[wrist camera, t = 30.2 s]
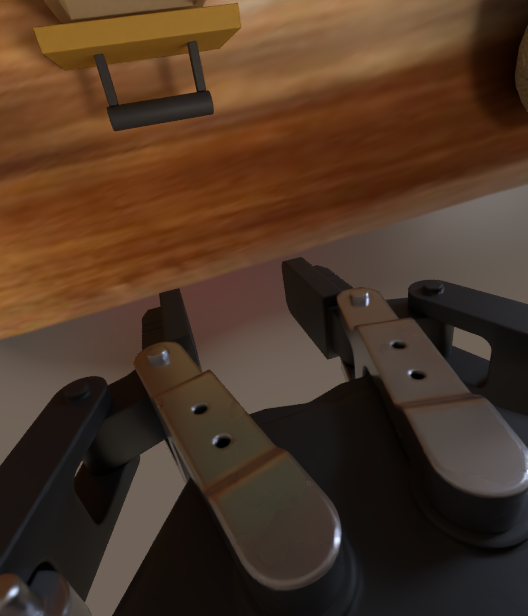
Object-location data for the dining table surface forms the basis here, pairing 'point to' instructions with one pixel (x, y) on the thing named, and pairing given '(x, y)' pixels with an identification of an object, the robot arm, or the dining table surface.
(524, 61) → the cantaloupe
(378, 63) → the dining table surface
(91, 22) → the drawer
